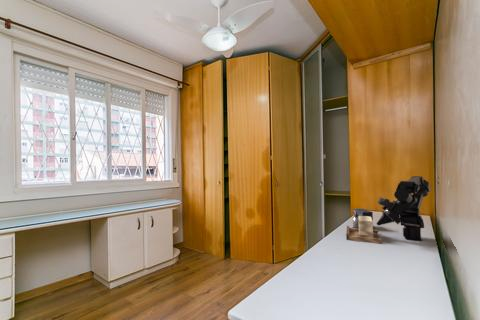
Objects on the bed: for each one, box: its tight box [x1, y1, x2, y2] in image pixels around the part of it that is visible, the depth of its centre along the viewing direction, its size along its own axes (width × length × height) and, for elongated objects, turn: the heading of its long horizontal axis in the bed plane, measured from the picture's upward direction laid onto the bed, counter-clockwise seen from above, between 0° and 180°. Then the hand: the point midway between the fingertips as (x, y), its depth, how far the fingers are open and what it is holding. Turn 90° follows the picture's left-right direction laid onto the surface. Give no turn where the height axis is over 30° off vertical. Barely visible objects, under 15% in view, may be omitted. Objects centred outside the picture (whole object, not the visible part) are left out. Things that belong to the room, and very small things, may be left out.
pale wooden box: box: [358, 216, 374, 238], centre depth 119 cm, size 6×11×9 cm, turn 154°
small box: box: [353, 208, 374, 222], centre depth 137 cm, size 11×6×10 cm, turn 1°
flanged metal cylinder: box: [351, 212, 359, 229], centre depth 134 cm, size 5×8×9 cm
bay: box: [345, 225, 382, 244], centre depth 120 cm, size 15×16×3 cm
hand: (377, 224), depth 117 cm, fingers closed
